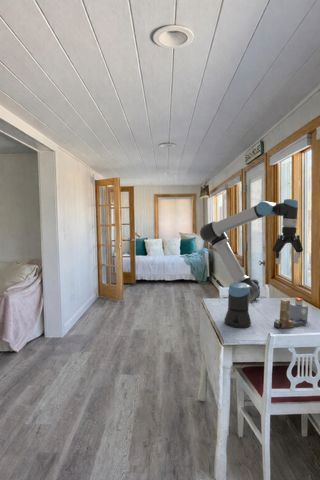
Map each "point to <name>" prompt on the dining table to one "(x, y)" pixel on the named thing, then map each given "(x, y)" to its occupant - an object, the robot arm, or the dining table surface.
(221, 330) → the dining table surface
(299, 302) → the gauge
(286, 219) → the robot arm
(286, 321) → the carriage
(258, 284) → the camera
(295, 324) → the rail
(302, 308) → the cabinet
